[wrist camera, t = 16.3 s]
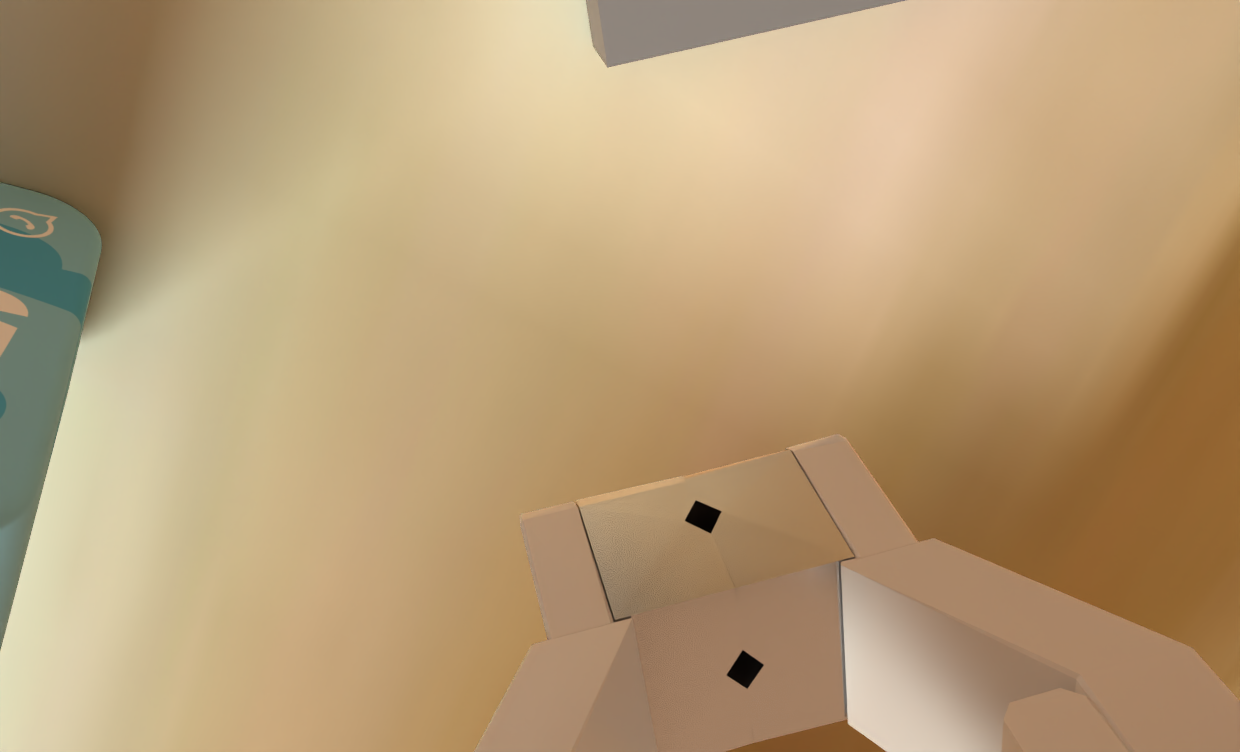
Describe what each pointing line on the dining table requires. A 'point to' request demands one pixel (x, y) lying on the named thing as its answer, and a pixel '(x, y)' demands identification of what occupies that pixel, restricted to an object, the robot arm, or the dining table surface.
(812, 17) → the boss board
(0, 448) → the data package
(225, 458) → the dining table surface
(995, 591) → the robot arm
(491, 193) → the dining table surface
